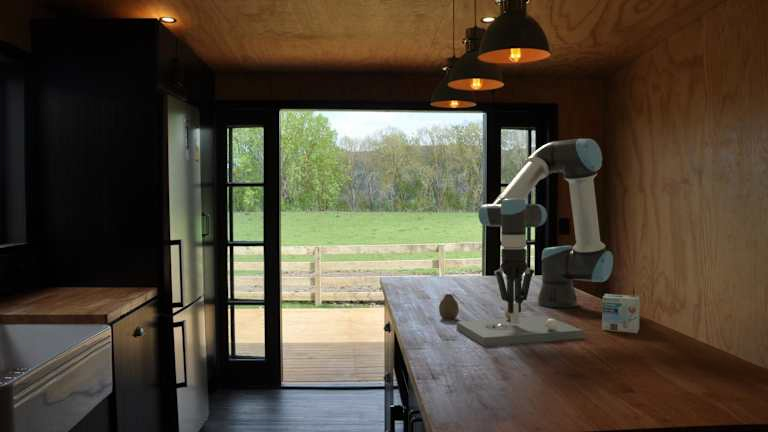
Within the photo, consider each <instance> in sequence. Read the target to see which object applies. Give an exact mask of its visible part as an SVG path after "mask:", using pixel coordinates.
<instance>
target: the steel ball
mask: <svg viewBox="0 0 768 432" xmlns="http://www.w3.org/2000/svg"><path fill="white" fill-rule="evenodd" d="M495 328H496V329H505V328H506V327H505V326H504V325H503V324H498V325H496V327H495Z"/></svg>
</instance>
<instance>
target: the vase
mask: <svg viewBox="0 0 768 432" xmlns="http://www.w3.org/2000/svg"><path fill="white" fill-rule="evenodd" d="M438 311H439V315H440V317H441V318H442V320H444V321H454V320H455V319H457V317H458V315H459V304H458V302H457V300H456V299H455V298H454V295H453V294H451V293H446V294H444V297H443V298H442V300H441V301H440V303H439V306H438Z"/></svg>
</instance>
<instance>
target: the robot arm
mask: <svg viewBox="0 0 768 432" xmlns="http://www.w3.org/2000/svg"><path fill="white" fill-rule="evenodd" d="M602 162H603V155H602V151H601V148H600V146H599V144H598V143H597V141H595V139H592V138H577V139H567V140H565V139H564V140H556V141H555V140H554V141H550V142H548V143H546V144H544V145H542V146H540V147H539V148H537V149H536V150H534V151H533V152H532V153H531V154H530V155H529V157H527V159H526V160H525V161H524V163H523V164H524V165H523V167H522V168H521V169H520V171H519V172H518V173H517V174H516V175H515V177H513V179H512V180H511V181H510V182H509V183H508V185H507V186H506V187H505V188H504V189H503V191H502V192H500V194H499V195H497V197H496V199H495V200H494V201H493V202H491V203H487V204H485V203H484V204H483V205H481V206H480V207H479V210H478V213H477V214H478V221H479V223H480V224H481V225H483V226H486V227H487V226H488V227H492V228H493V227H495V228H496V227H501V234H500V235H501V247H502V248H501V264H500V266H499V267H500V268H498V269H497V270H493V274H494V276H495V278H496V280H497V285H498V289H499V293H500V297H501V300H502V301H504V302H506V303H507V309H508V312H509V313H510V320H511V323H513V324H519V318H520V317H519V316H520V315H519V314H520V313H521V312H522V303H523V302H524V301H527V298H528V295H529V291H530V286H531V280H532V277H533V276H534V274H535V270H534V269H531V267H528V264H527V249H526V247H527V228H537V227H540V226H543V225H544V224H545V223H546V221H547V219H548V218H547V217H548V213H547V210H546V207H544V206H543V205H541V204H537V203H527V202H526V199H525V198H526V197H527V196H528V195H529V194H530V193H531V192H532V191H533V189H534V188H535V187H536V185H538V182H539V181H541V180H543V179H546V177H547V176H548V175H550V174H553V173H563V179H564V180H565V181H567V182H568V186H569V187H568V188H569V195H570V203H571V212H572V219H573V221H572V222H573V228H574V236H575V244H574V245H561V246H560V245H559V246H552V247H545V248H544V249H543V250H542V251H541V252H542V253H541V288H540V290H539V294H538V295H537V305H539V306H542V307H546V308H556V309H559V308H560V309H562V308H563V309H565V308H567V309H568V308H569V309H570V308H574V307H578V297H577V294H576V291H575V288H574V285H573V284H574V281H573V280H575V281H583V282H592V283H603V282H605V281H607V280H608V279H609V278H610V276H611V274H612V272H613V271H612V270H613V267H614V266H613V265H614V256H613V254H612V252H611V251H609V250H606V244H605V243H603V242H602V241H601V236H600V228H599V218H598V217H599V216H598V209H597V200H596V191H595V182H594V179H595V177H597V175H598V171H599V170H600V169H601V167H602V165H603V164H602ZM539 183H540V182H539ZM526 203H527V204H526ZM503 275H504V276H505V279H504V276H503ZM523 275H524V276H523ZM505 280H506V283H505Z"/></svg>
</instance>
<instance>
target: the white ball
mask: <svg viewBox="0 0 768 432" xmlns="http://www.w3.org/2000/svg"><path fill="white" fill-rule="evenodd" d="M554 319H555V318H553V319H548V320H547V321H546V323H545V326H546V328H547V329H548V330H551V331H552V330H555V329H556V328H557V322H556V321H555V320H556V319H555V320H554Z"/></svg>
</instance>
